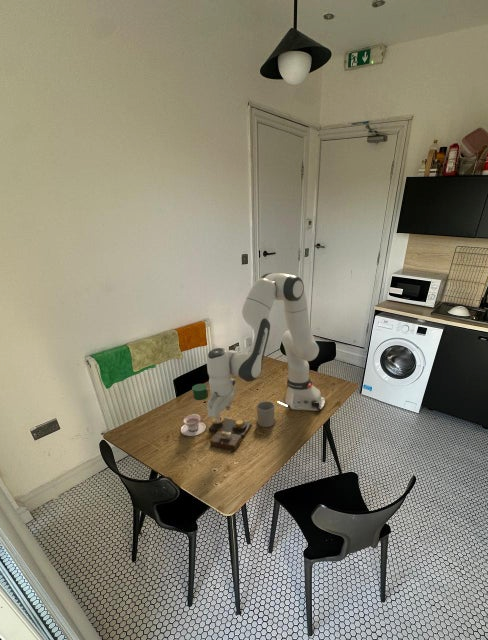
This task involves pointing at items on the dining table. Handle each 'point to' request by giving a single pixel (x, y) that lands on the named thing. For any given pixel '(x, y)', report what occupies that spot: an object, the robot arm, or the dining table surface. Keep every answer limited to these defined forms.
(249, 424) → the lamp base
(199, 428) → the teacup
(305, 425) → the dining table surface
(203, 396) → the desk lamp
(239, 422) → the lamp switch
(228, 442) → the dimmer
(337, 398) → the dining table surface
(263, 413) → the cup
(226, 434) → the dimmer knob
